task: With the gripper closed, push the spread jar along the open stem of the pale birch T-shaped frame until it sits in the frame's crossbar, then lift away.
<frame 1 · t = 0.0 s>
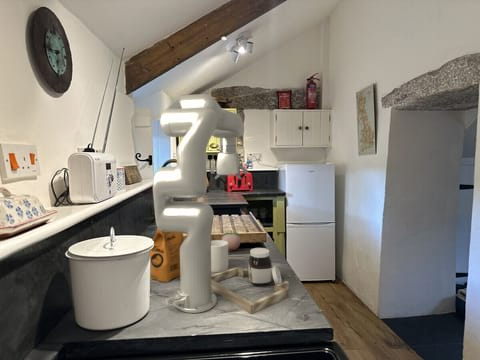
hand: (228, 187, 131), 31 cm above the worktop, tool pointing down, fingers open, 9 cm apart
mug: (219, 268, 118), on the worktop
decorative fruit: (231, 251, 138), on the worktop
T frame: (251, 287, 100), on the worktop
coffee package: (167, 276, 110), on the worktop
spread jar: (265, 283, 104), on the worktop
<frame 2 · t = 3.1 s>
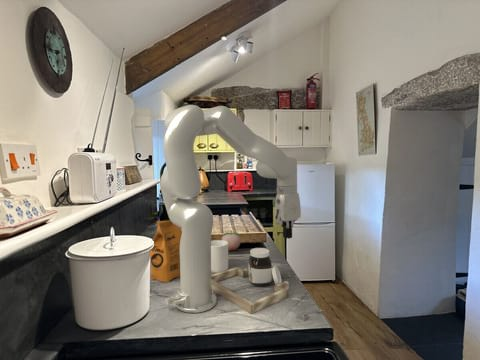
hand: (287, 237, 110), 14 cm above the worktop, tool pointing down, fingers closed
nothing on the worktop moved.
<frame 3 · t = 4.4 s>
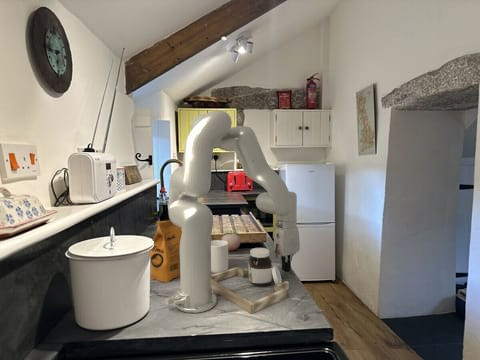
hand: (286, 270, 111), 1 cm above the worktop, tool pointing down, fingers closed
nothing on the worktop moved.
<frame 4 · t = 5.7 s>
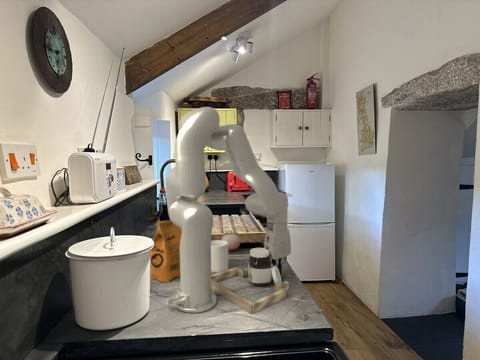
hand: (277, 274, 108), 1 cm above the worktop, tool pointing down, fingers closed
spread jar: (265, 283, 103), on the worktop, touching gripper
everything else where it was.
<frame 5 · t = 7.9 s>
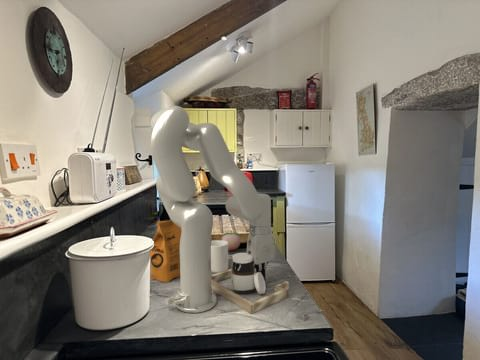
hand: (260, 279, 102), 2 cm above the worktop, tool pointing down, fingers closed
spread jar: (248, 290, 98), on the worktop, touching gripper
everything else where it was.
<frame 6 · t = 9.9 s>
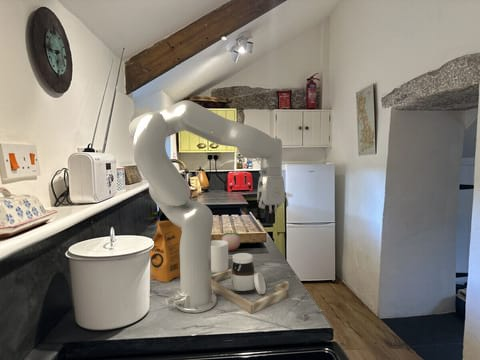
hand: (270, 223, 104), 21 cm above the worktop, tool pointing down, fingers closed
spread jar: (248, 290, 98), on the worktop
everything else where it was.
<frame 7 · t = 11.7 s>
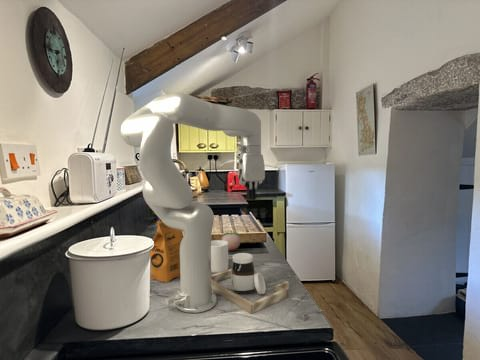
hand: (251, 199, 109), 29 cm above the worktop, tool pointing down, fingers closed
nothing on the worktop moved.
at the end: spread jar inside the target area (1.6 cm from its centre), on the worktop; spread jar tilted 0° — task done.
